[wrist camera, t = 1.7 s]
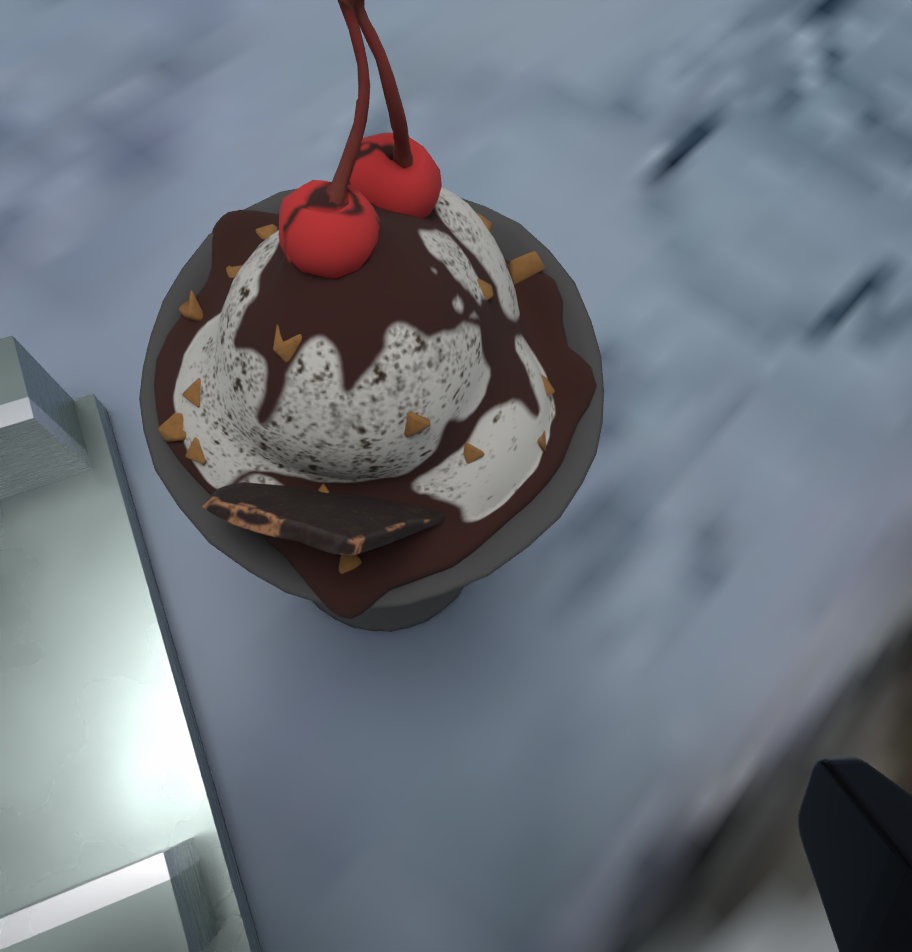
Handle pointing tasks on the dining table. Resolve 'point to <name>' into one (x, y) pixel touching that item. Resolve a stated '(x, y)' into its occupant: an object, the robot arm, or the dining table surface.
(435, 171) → the sundae
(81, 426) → the vise
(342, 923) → the dining table surface
